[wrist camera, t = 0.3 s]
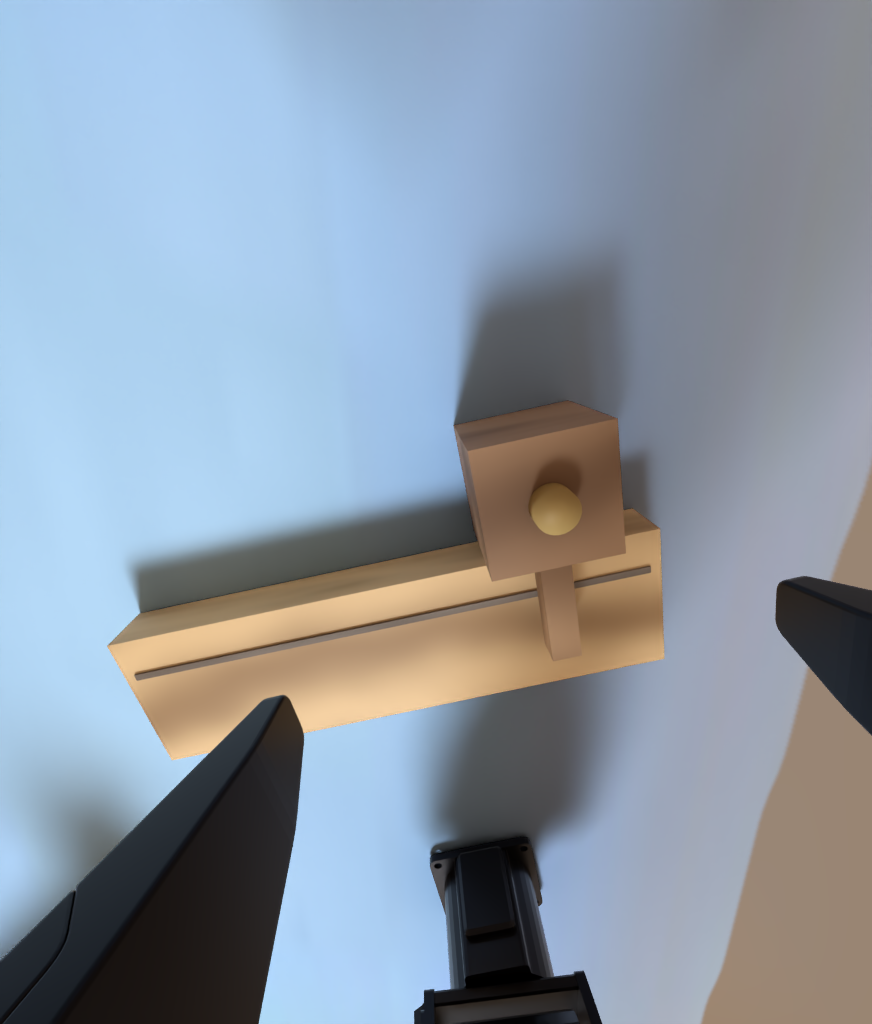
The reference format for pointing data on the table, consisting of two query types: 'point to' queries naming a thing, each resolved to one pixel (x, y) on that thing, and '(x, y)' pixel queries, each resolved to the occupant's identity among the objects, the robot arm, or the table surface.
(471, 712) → the table surface
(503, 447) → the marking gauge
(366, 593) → the board
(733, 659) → the table surface
